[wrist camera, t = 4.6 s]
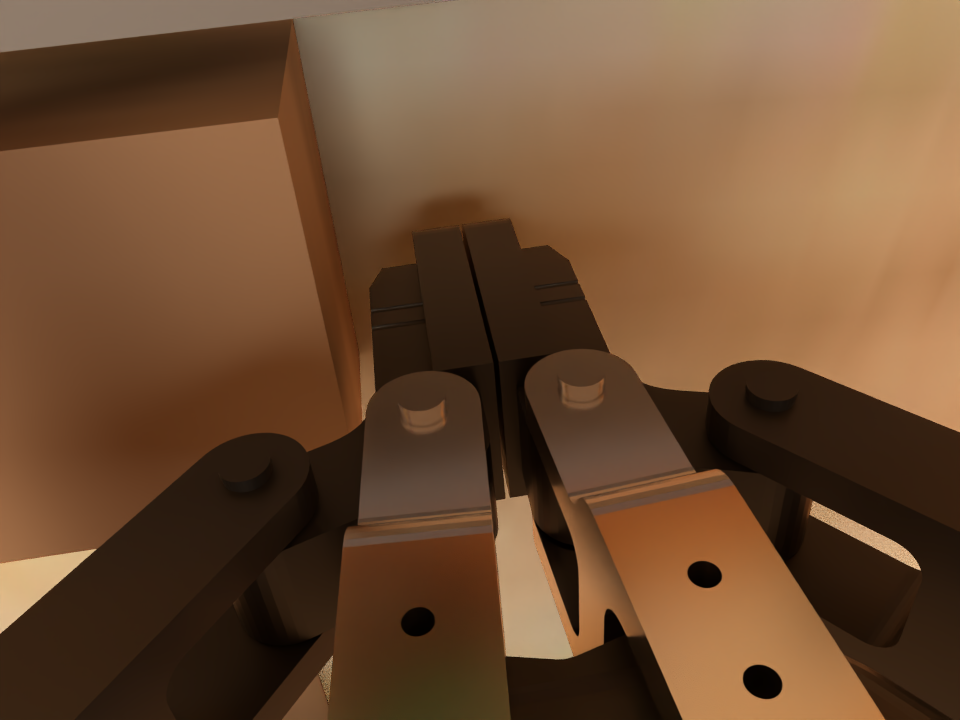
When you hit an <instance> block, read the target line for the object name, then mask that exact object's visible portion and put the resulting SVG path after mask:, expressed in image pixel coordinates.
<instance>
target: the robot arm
mask: <svg viewBox="0 0 960 720" xmlns="http://www.w3.org/2000/svg"><path fill="white" fill-rule="evenodd" d="M462 234H463V239H462V235H461V231H460V227H459V225H458V226H451V227H443V228H436V229H429V230H421V231H414V232H412V235H413V242H414V249H415V256H416V263H417V264H411V265H404V266H396V267H389V268H382V270H381V271H380V273H379V274H378V276H377V277H376V279H375V281H374V282H373V284H372V285H371V287H370V289H369V290H370V307H371V324H372V341H373V357H374V374H375V391H376V393H375V394H374V395H373V396H372V398H371V399H370V401H369V403H368V405H367V410H366V419H365V420H364V421H363V422H362V423H361V424H360V425H359V426H358V427H356V428H355V429H354V430H353V431H351V432H350V433H348V434H347V435H345V436H343V437H341V438H340V439H337V440H335V441H333V442H331V443H328V444H326V445H323V446H321V447H318V448H316V449H313V450H311V451H308V452H306V450H305V449H304V447H303V446H302V445H301V444H300V443H299V442H297V441H296V440H294V439H292V438H290V437H288V436H285V435H282V434H276V433H254V434H248V435H244V436H240V437H237V438H234V439H231V440H229V441H226V442H224V443H222V444H220V445H219V446H217V447H215V448H214V449H212V450H211V451H209V452H208V453H207V454H205V455H204V456H203V457H202V458H201V459H199V460H198V461H197V462H196V463H195V464H194V465H193V466H191V467H190V468H189V469H188V470H187V471H186V472H185V473H183V474H182V475H181V476H180V477H179V478H178V479H177V480H175V481H174V482H173V483H172V484H171V485H170V486H169V487H167V488H166V489H165V490H164V491H163V492H162V493H161V494H159V495H158V496H157V497H156V498H155V499H154V500H153V501H151V502H150V503H149V504H148V505H147V506H146V507H145V508H144V509H142V510H141V511H140V512H139V513H138V514H137V515H136V516H134V517H133V518H132V519H131V520H130V521H129V522H128V523H126V524H125V525H124V526H123V527H122V528H121V529H120V530H118V531H117V532H116V533H115V534H114V535H113V536H112V537H110V538H109V539H108V540H107V541H106V542H105V543H104V544H102V545H101V546H100V547H99V548H98V549H97V550H96V551H94V552H93V553H92V554H91V555H90V556H89V557H88V558H86V559H85V560H84V561H83V562H82V563H81V564H80V565H78V566H77V567H76V568H75V569H74V570H73V571H72V572H70V573H69V574H68V575H67V576H66V577H65V578H64V579H62V580H61V581H60V582H59V583H58V584H57V585H56V586H54V587H53V588H52V589H51V590H50V591H49V592H48V593H46V594H45V595H44V596H43V597H42V598H41V599H40V600H39V601H37V602H36V603H35V604H34V605H33V606H32V607H31V608H29V609H28V610H27V611H26V612H25V613H24V614H23V615H21V616H20V617H19V618H18V619H17V620H16V621H15V622H13V623H12V624H11V625H10V626H9V627H8V628H7V629H5V630H4V631H3V632H2V633H1V634H0V720H282V719H283V718H284V716H285V715H286V714H287V713H288V711H289V710H290V709H291V707H292V706H293V705H294V704H295V702H296V701H297V700H298V699H299V697H300V696H301V695H302V693H303V692H304V691H305V690H306V688H307V687H308V686H309V685H310V683H311V682H312V681H313V679H314V678H315V677H316V676H317V674H318V673H319V672H320V671H321V669H322V668H323V667H324V665H325V664H326V663H327V662H328V660H329V659H330V658H331V656H332V655H333V663H332V674H331V685H330V697H329V708H328V719H327V720H960V433H959V432H957V431H954V430H952V429H950V428H947V427H945V426H942V425H940V424H937V423H935V422H932V421H930V420H927V419H925V418H922V417H920V416H918V415H915V414H913V413H910V412H908V411H905V410H903V409H900V408H898V407H895V406H893V405H890V404H888V403H886V402H883V401H881V400H878V399H876V398H873V397H871V396H868V395H866V394H863V393H861V392H858V391H856V390H854V389H851V388H849V387H846V386H844V385H841V384H839V383H836V382H834V381H831V380H829V379H826V378H824V377H822V376H819V375H817V374H814V373H812V372H809V371H807V370H804V369H802V368H799V367H796V366H794V365H791V364H787V363H782V362H777V361H769V360H754V361H746V362H740V363H737V364H734V365H731V366H729V367H727V368H725V369H723V370H722V371H721V372H719V373H718V374H717V375H716V376H715V377H714V378H713V380H712V382H711V384H710V388H709V393H706V392H693V391H679V390H669V389H662V388H658V387H653V386H650V385H647V384H644V383H642V382H641V381H640V379H639V377H638V376H637V374H636V372H635V371H634V370H633V368H632V367H631V366H630V365H629V364H628V363H627V362H625V361H624V360H622V359H621V358H619V357H617V356H615V355H612V354H610V352H609V350H608V348H607V345H606V343H605V341H604V339H603V336H602V334H601V332H600V330H599V327H598V325H597V323H596V321H595V318H594V316H593V314H592V312H591V309H590V307H589V305H588V303H587V300H585V296H584V293H583V291H582V289H581V287H580V284H578V280H577V278H576V275H575V273H574V271H573V269H572V266H571V264H570V262H569V260H568V259H566V258H565V257H563V256H562V255H561V254H559V253H558V252H556V251H555V250H554V249H552V248H551V247H550V246H548V245H546V246H539V247H532V248H525V249H521V248H520V245H519V242H518V240H517V237H516V234H515V231H514V228H513V226H512V223H511V220H510V219H509V218H508V219H501V220H493V221H486V222H479V223H471V224H464V225H462ZM502 465H503V466H502ZM503 469H504V473H505V478H506V482H507V487H508V491H509V495H510V498H511V497H518V496H524V495H528V498H529V502H530V506H531V510H532V519H533V535H534V542H535V546H536V549H537V552H538V555H539V557H540V560H541V563H542V566H543V569H544V572H545V575H546V578H547V581H548V583H549V586H550V589H551V592H552V595H553V598H554V601H555V604H556V606H557V609H558V612H559V615H560V618H561V621H562V624H563V627H564V629H565V632H566V635H567V638H568V641H569V644H570V647H571V650H572V653H573V656H574V657H572V658H568V659H559V660H554V659H539V658H524V657H508V656H506V648H505V638H504V628H503V618H502V608H501V597H500V587H499V577H498V567H497V557H496V547H495V539H496V536H497V533H498V518H497V508H496V500H501V499H505V489H504V478H503ZM812 501H815V502H817V503H819V504H821V505H823V506H825V507H827V508H829V509H831V510H833V511H835V512H837V513H839V514H841V515H843V516H845V517H847V518H849V519H851V520H853V521H855V522H857V523H859V524H861V525H863V526H865V527H867V528H869V529H871V530H873V531H875V532H877V533H879V534H881V535H883V536H885V537H887V538H889V539H891V540H893V541H895V542H897V543H898V544H900V545H901V546H903V547H904V548H905V549H907V550H908V551H909V552H910V553H911V554H912V555H913V557H914V558H915V559H916V561H917V562H918V564H919V566H920V568H921V571H920V570H917V569H915V568H912V567H910V566H908V565H906V564H904V563H902V562H900V561H898V560H896V559H895V558H893V557H891V556H889V555H887V554H885V553H883V552H881V551H879V550H877V549H875V548H873V547H871V546H869V545H867V544H865V543H863V542H861V541H859V540H857V539H855V538H854V537H852V536H850V535H848V534H846V533H844V532H842V531H840V530H838V529H836V528H834V527H832V526H830V525H828V524H826V523H824V522H822V521H820V520H818V519H816V518H814V517H813V516H811V515H809V514H810V510H811V506H812Z"/></svg>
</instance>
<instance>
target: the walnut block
mask: <svg viewBox="0 0 960 720" xmlns="http://www.w3.org/2000/svg"><path fill="white" fill-rule="evenodd" d="M361 423H362V408H361V383H360V358H359V350H358V345H357V340H356V335H355V330H354V325H353V320H352V315H351V310H350V305H349V300H348V295H347V290H346V285H345V280H344V275H343V270H342V265H341V260H340V255H339V250H338V245H337V240H336V235H335V230H334V225H333V220H332V215H331V210H330V205H329V200H328V195H327V190H326V185H325V180H324V175H323V170H322V164H321V159H320V154H319V149H318V144H317V139H316V134H315V129H314V124H313V119H312V114H311V109H310V104H309V99H308V94H307V89H306V84H305V79H304V74H303V69H302V64H301V59H300V54H299V49H298V44H297V39H296V34H295V29H294V24H293V19H287V20H278V21H269V22H261V23H252V24H243V25H234V26H226V27H217V28H208V29H199V30H191V31H182V32H173V33H165V34H156V35H147V36H138V37H130V38H121V39H112V40H103V41H95V42H86V43H77V44H69V45H60V46H51V47H42V48H34V49H25V50H16V51H7V52H0V563H6V562H12V561H19V560H25V559H32V558H39V557H45V556H52V555H58V554H65V553H71V552H78V551H84V550H91V549H98V548H99V547H100V546H101V545H102V544H104V543H105V542H106V541H107V540H108V539H109V538H110V537H112V536H113V535H114V534H115V533H116V532H117V531H118V530H120V529H121V528H122V527H123V526H124V525H125V524H126V523H128V522H129V521H130V520H131V519H132V518H133V517H134V516H136V515H137V514H138V513H139V512H140V511H141V510H142V509H144V508H145V507H146V506H147V505H148V504H149V503H150V502H151V501H153V500H154V499H155V498H156V497H157V496H158V495H159V494H161V493H162V492H163V491H164V490H165V489H166V488H167V487H169V486H170V485H171V484H172V483H173V482H174V481H175V480H177V479H178V478H179V477H180V476H181V475H182V474H183V473H185V472H186V471H187V470H188V469H189V468H190V467H191V466H193V465H194V464H195V463H196V462H197V461H198V460H199V459H201V458H202V457H203V456H204V455H205V454H207V453H208V452H209V451H211V450H212V449H214V448H215V447H217V446H219V445H220V444H222V443H224V442H226V441H229V440H231V439H234V438H237V437H240V436H244V435H248V434H254V433H276V434H282V435H285V436H288V437H290V438H292V439H294V440H296V441H297V442H299V443H300V444H301V445H302V446H303V447H304V449H305V450H306V452H308V451H311V450H313V449H316V448H318V447H321V446H323V445H326V444H328V443H331V442H333V441H335V440H337V439H340V438H341V437H343V436H345V435H347V434H348V433H350V432H351V431H353V430H354V429H355V428H356V427H358V426H359V425H360V424H361Z"/></svg>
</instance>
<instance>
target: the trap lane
mask: <svg viewBox="0 0 960 720" xmlns="http://www.w3.org/2000/svg"><path fill="white" fill-rule="evenodd" d="M444 1H453V0H0V52H7V51H16V50H25V49H34V48H42V47H51V46H60V45H69V44H77V43H86V42H95V41H103V40H112V39H121V38H130V37H138V36H147V35H156V34H165V33H173V32H182V31H191V30H199V29H208V28H217V27H226V26H234V25H243V24H252V23H261V22H269V21H278V20H287V19H295V18H304V17H313V16H322V15H330V14H339V13H348V12H357V11H365V10H374V9H383V8H391V7H400V6H409V5H418V4H426V3H435V2H444ZM328 708H329V705H328V702H327V699H326V696H325V693H324V690H323V687H322V684H321V681H320V678H319V675H318V674H317V676H316V677H315V678H314V679H313V681H312V682H311V683H310V685H309V686H308V687H307V688H306V690H305V691H304V692H303V693H302V695H301V696H300V697H299V699H298V700H297V701H296V702H295V704H294V705H293V706H292V707H291V709H290V710H289V711H288V713H287V714H286V715H285V716H284V718H283V719H282V720H327V719H328Z"/></svg>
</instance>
